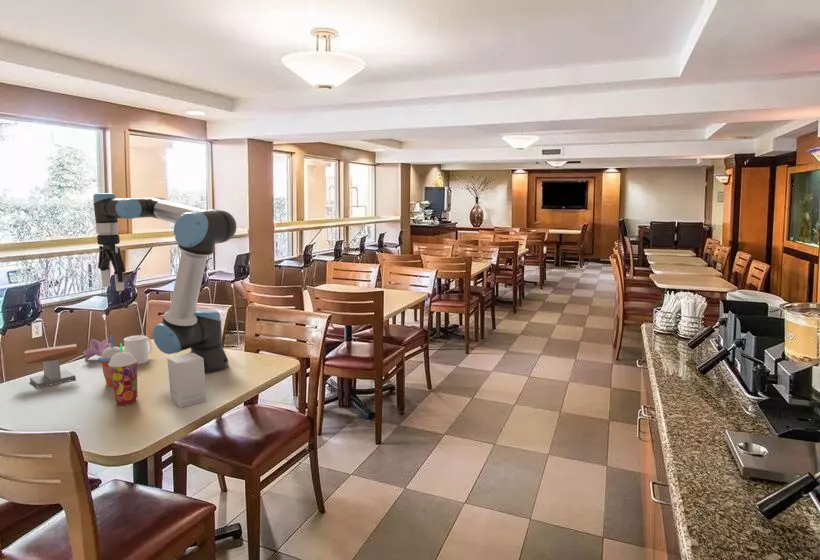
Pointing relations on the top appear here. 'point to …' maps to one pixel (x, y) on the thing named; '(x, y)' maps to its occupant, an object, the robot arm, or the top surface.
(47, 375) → the ridge stand
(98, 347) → the lily
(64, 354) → the batten
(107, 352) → the cup with straw
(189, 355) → the supplement box
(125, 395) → the smoothie
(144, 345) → the cup
